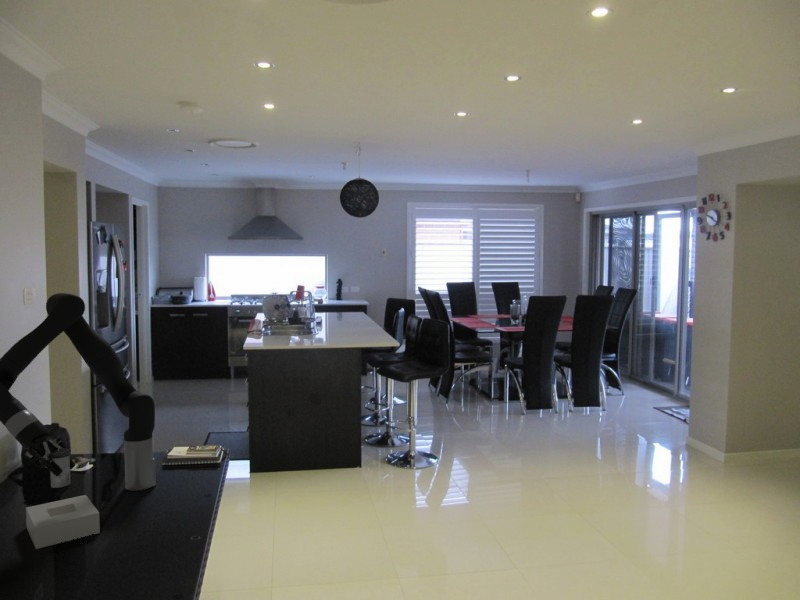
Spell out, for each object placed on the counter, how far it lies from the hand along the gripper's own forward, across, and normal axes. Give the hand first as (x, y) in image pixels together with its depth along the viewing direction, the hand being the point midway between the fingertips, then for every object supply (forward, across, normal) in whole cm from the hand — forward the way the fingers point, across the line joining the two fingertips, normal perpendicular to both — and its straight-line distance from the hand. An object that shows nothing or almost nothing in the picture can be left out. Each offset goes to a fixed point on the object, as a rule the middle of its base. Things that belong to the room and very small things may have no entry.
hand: (66, 470), depth 176 cm
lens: (+2, 0, +4) cm, 5 cm away
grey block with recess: (+11, 0, +14) cm, 18 cm away
